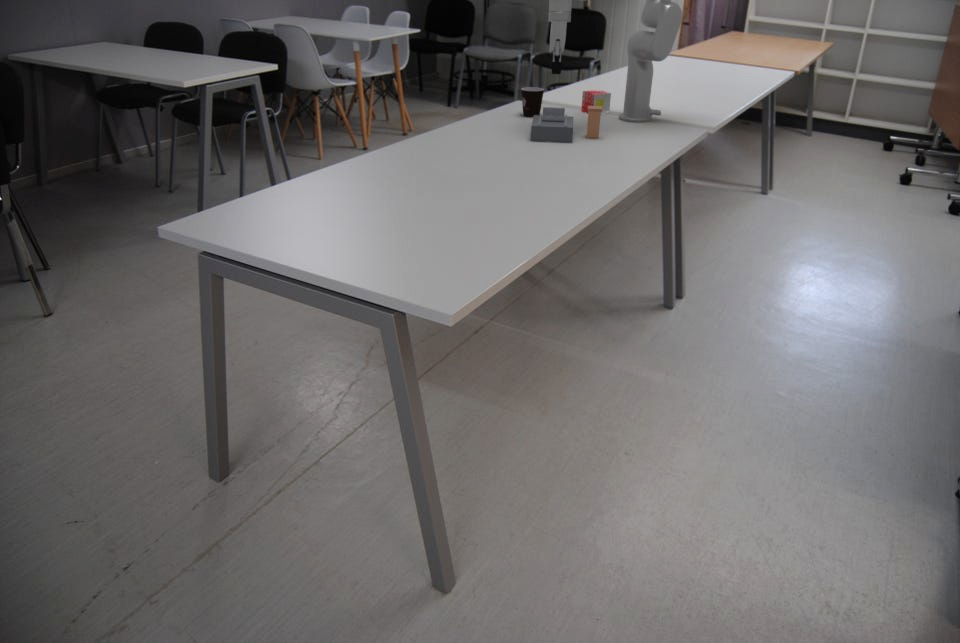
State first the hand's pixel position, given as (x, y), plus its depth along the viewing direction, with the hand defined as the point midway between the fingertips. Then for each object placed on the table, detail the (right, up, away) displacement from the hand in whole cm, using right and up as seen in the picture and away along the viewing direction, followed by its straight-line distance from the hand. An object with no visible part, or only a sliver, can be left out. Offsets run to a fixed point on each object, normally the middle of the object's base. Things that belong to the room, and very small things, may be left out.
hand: (556, 72), depth 260 cm
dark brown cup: (-7, -7, +29) cm, 30 cm away
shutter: (-1, -17, -2) cm, 17 cm away
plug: (+12, -23, -3) cm, 26 cm away
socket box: (-2, -23, -2) cm, 23 cm away
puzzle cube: (+19, -4, +35) cm, 40 cm away
